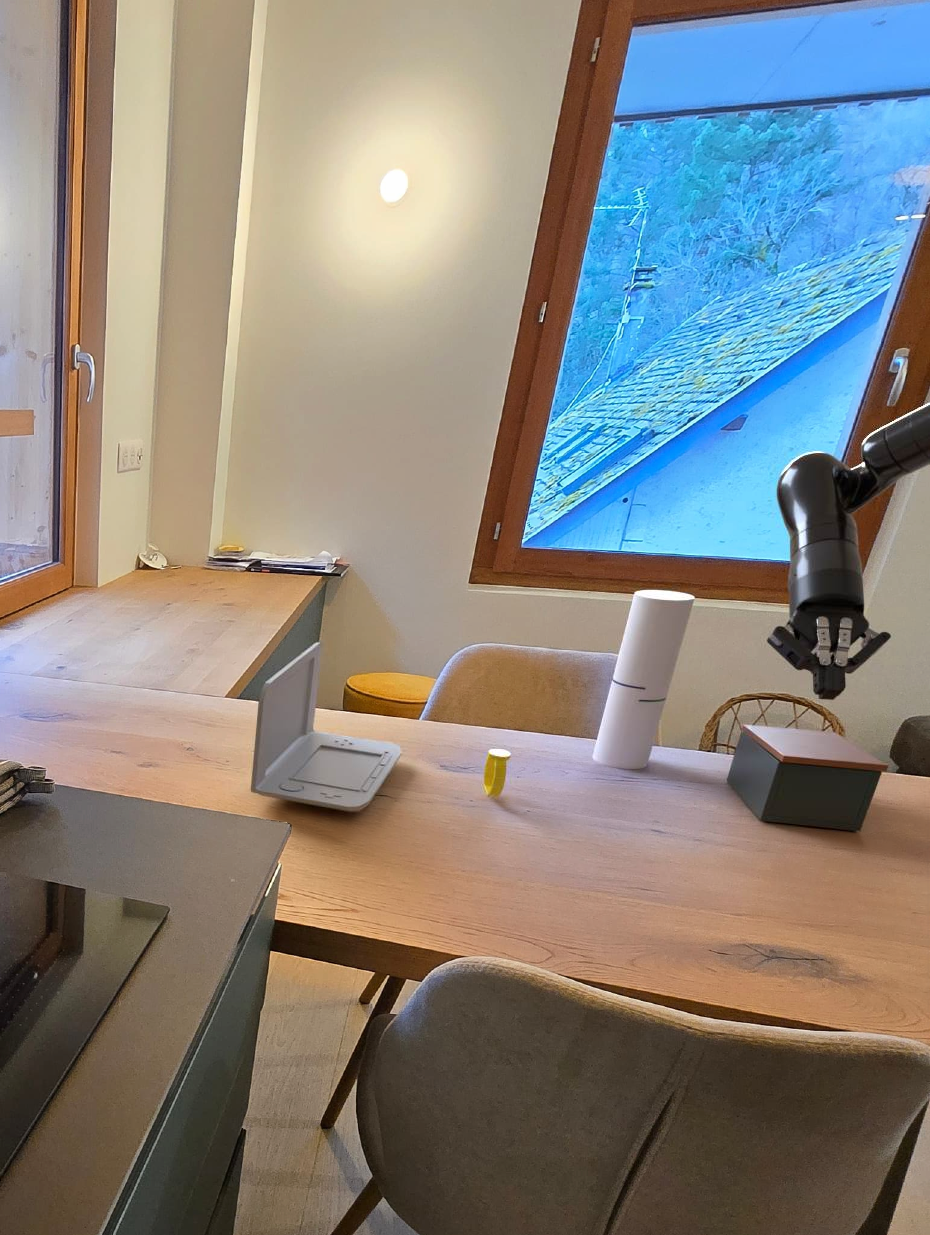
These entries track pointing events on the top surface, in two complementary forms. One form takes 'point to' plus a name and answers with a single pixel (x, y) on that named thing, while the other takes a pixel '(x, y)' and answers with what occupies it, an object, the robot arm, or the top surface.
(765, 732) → the panel
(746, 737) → the lidded box
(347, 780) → the game console
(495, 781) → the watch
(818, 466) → the robot arm
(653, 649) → the cylindrical container
